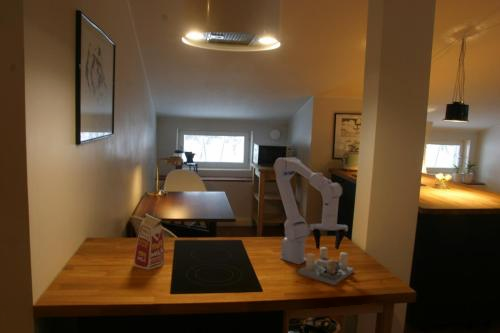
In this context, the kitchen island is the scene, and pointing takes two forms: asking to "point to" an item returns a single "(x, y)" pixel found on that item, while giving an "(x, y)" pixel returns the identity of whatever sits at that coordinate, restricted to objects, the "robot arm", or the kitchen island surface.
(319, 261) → the bar
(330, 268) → the leg peg
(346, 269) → the board
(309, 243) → the kitchen island surface
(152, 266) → the milk carton
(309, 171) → the robot arm
